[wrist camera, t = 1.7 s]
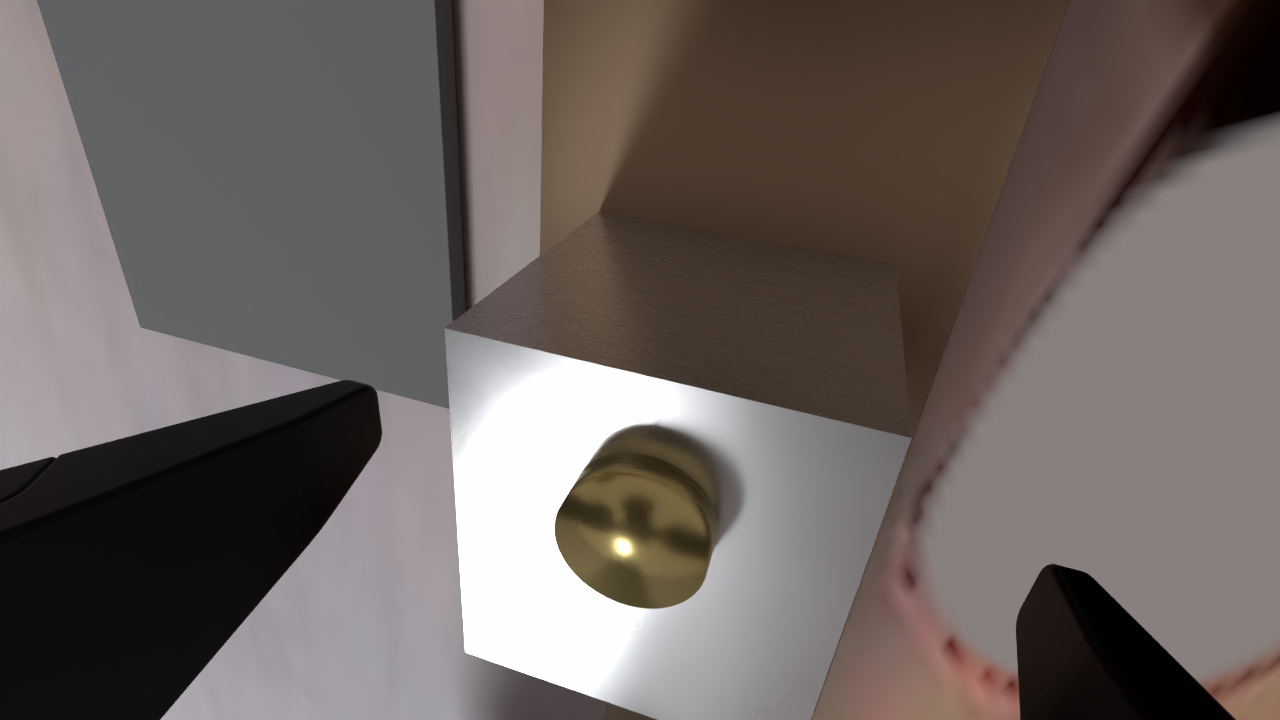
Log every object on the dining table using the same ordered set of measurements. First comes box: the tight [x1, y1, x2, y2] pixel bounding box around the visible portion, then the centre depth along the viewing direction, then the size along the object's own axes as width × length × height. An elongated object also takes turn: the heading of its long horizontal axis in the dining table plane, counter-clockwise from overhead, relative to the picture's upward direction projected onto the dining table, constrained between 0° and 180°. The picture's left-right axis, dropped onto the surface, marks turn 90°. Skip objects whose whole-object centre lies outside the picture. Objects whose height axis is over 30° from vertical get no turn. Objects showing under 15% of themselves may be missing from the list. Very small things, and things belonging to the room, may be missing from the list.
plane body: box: [540, 0, 1070, 720], centre depth 11 cm, size 17×7×5 cm, turn 175°
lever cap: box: [444, 211, 912, 720], centre depth 9 cm, size 5×4×5 cm
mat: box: [37, 0, 466, 409], centre depth 15 cm, size 11×10×1 cm
